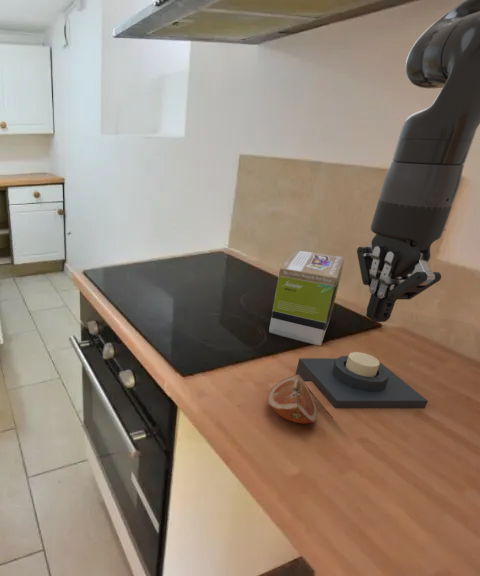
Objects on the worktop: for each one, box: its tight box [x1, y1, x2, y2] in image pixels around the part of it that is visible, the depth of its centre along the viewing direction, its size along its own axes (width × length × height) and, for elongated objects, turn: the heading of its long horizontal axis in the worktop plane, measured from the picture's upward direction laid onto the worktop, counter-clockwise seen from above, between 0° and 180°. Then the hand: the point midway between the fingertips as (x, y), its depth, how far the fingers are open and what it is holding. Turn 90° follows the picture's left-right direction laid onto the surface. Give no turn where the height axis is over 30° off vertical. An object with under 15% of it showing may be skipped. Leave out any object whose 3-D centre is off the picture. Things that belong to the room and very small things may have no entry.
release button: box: [346, 351, 381, 377], centre depth 58 cm, size 4×4×2 cm
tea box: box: [268, 249, 345, 346], centre depth 79 cm, size 15×10×15 cm
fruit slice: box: [267, 374, 318, 425], centre depth 55 cm, size 8×7×5 cm
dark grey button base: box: [295, 355, 428, 419], centre depth 60 cm, size 13×11×5 cm
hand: (375, 319), depth 55 cm, fingers closed
